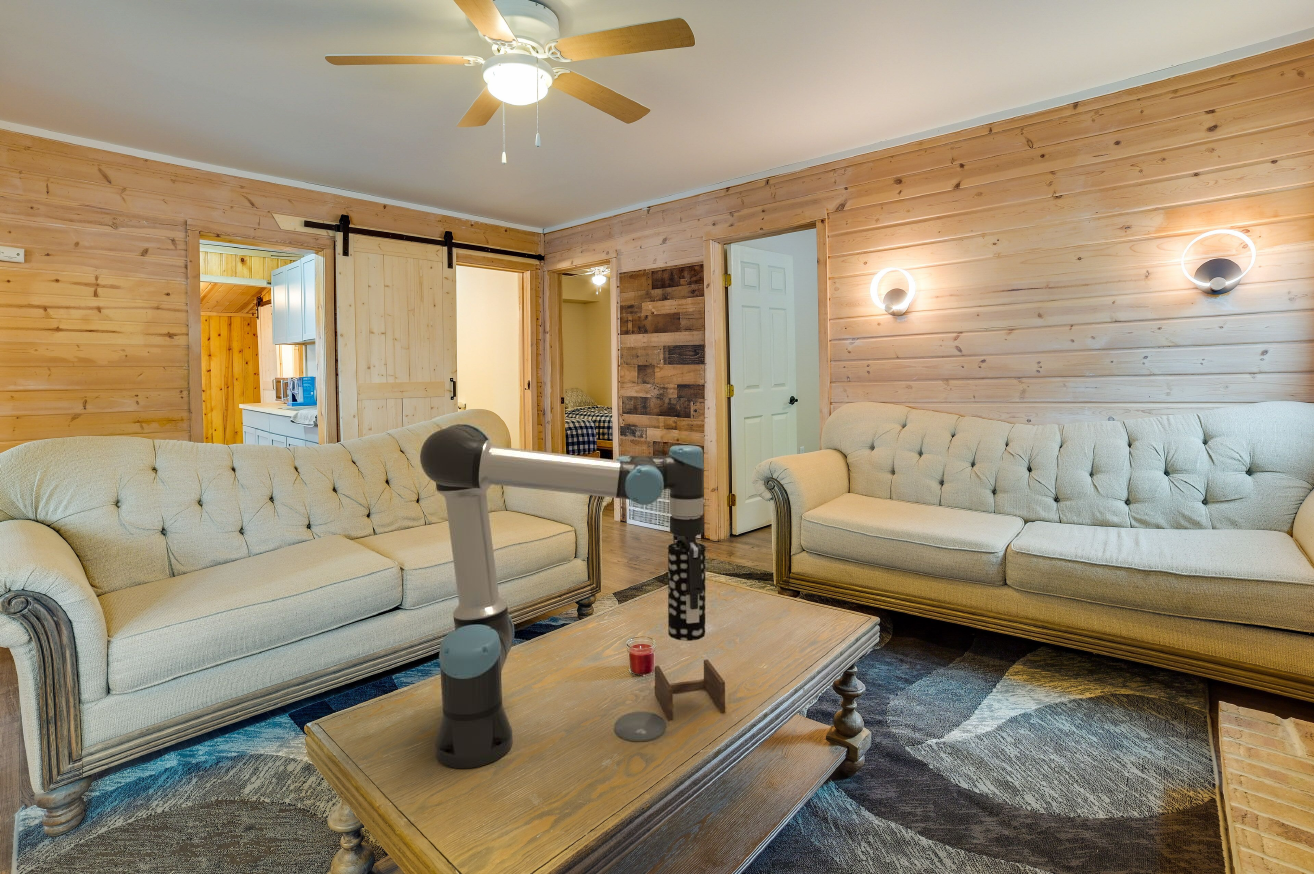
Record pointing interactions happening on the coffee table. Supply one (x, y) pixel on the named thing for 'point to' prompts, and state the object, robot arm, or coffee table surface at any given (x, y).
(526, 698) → the coffee table surface
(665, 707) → the rack
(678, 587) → the spotted tube
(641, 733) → the coaster
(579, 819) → the coffee table surface
